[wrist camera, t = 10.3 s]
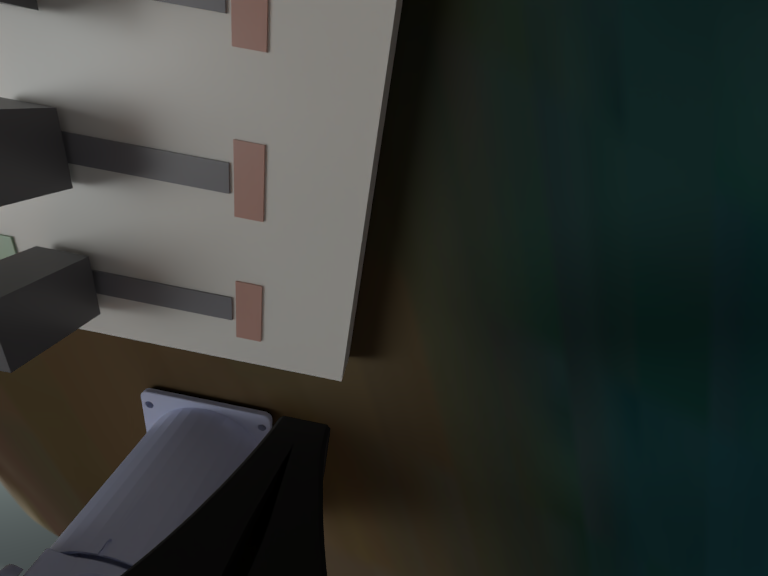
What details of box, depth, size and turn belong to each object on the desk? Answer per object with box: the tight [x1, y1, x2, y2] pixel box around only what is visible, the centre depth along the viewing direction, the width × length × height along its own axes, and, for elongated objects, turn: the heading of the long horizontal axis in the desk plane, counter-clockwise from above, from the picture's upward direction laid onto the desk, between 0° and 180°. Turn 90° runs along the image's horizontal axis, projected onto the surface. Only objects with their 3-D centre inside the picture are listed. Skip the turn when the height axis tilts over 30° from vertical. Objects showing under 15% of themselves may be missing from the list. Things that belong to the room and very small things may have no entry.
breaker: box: [0, 246, 101, 373], centre depth 16 cm, size 3×2×4 cm
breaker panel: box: [0, 0, 403, 381], centre depth 16 cm, size 18×22×2 cm
